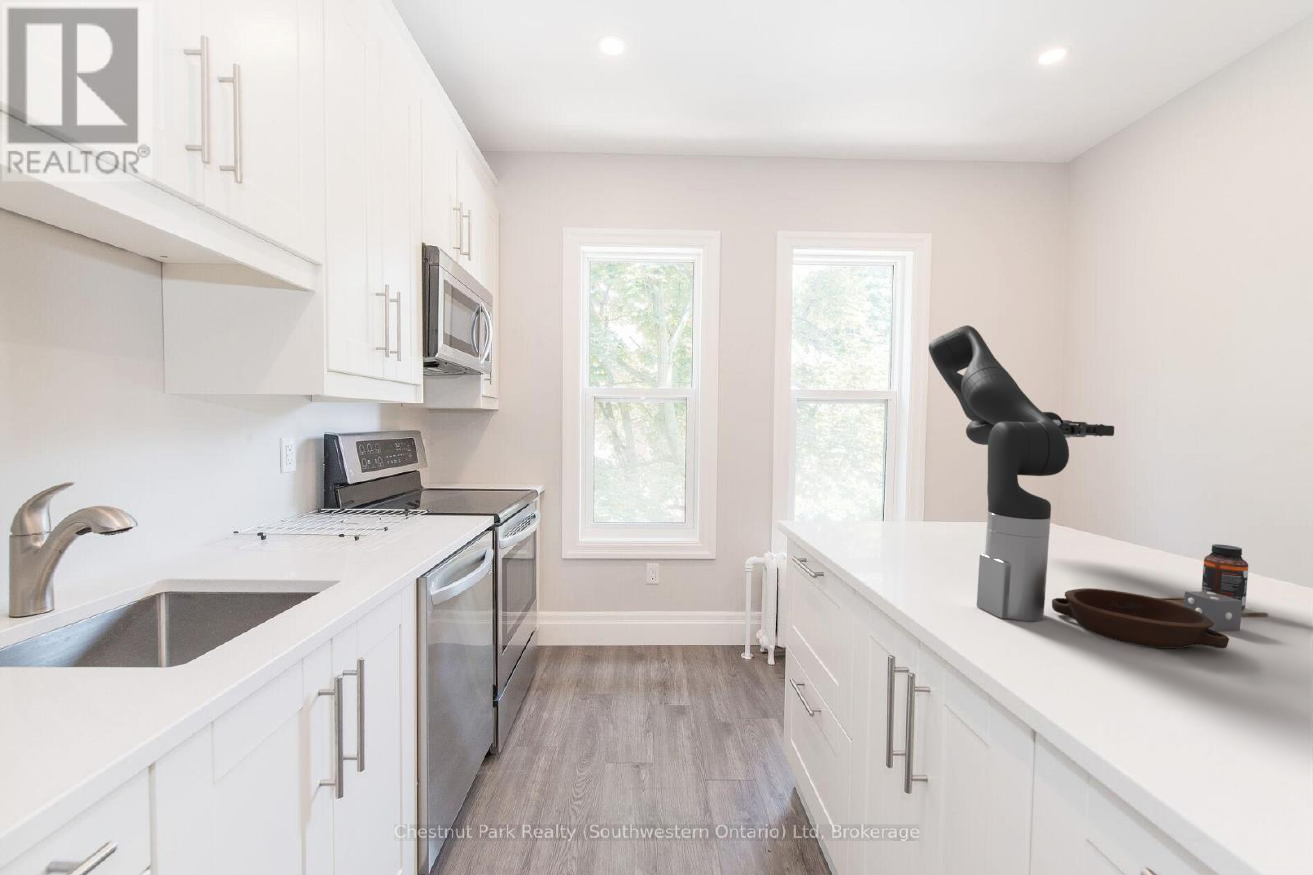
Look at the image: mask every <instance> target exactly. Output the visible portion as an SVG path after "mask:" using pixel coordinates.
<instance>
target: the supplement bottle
mask: <svg viewBox="0 0 1313 875" xmlns="http://www.w3.org/2000/svg"><path fill="white" fill-rule="evenodd" d="M1242 555H1243V548H1241V547H1238V546H1234V545H1229V544H1228V545H1227V544H1217V543H1215V544H1214V543H1213V544H1212V545H1211V553H1209V554H1207V555H1206V556H1205V557H1204V558H1203V565H1202V566H1203V567H1202V581H1201V591H1210V592H1214V593H1217V594H1221V595H1224V596H1228V597H1231V598H1234V599H1238V600H1241V601H1242V610H1244V609H1245V608H1246V605H1247V590H1248V579H1249V577H1248V576H1249V563H1248V562H1247V561H1246V560H1245V559H1243V557H1242Z"/></svg>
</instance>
